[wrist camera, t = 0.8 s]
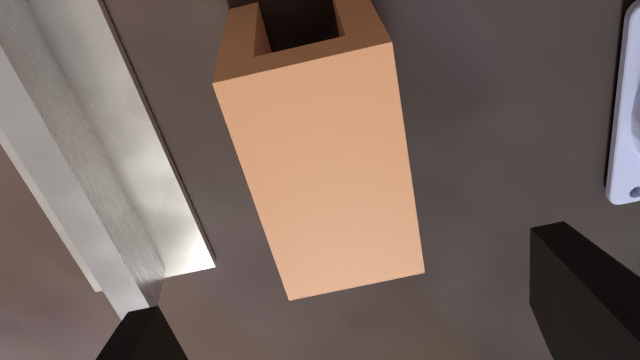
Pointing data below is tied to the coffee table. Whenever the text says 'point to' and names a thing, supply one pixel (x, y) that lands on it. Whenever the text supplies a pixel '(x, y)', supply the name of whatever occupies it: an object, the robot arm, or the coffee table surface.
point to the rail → (94, 150)
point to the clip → (323, 149)
